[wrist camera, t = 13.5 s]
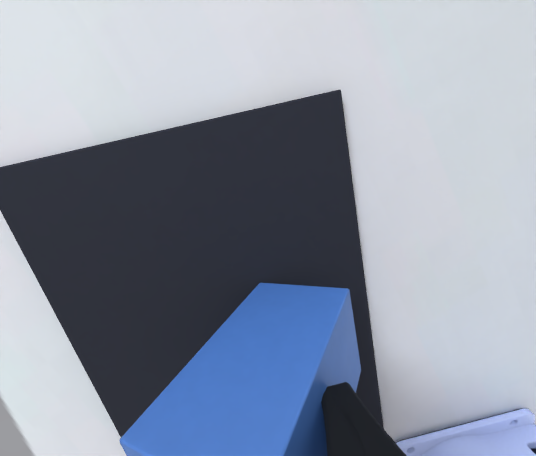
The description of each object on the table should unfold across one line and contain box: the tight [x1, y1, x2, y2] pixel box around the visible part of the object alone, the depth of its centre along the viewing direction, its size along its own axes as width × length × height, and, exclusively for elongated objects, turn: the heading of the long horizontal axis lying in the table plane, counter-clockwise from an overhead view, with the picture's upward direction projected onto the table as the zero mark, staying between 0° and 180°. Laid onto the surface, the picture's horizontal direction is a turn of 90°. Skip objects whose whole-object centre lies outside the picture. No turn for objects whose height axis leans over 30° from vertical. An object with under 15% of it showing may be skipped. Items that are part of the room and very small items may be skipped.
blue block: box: [120, 283, 361, 456], centre depth 10 cm, size 4×4×8 cm
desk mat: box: [0, 90, 384, 437], centre depth 15 cm, size 15×20×1 cm
